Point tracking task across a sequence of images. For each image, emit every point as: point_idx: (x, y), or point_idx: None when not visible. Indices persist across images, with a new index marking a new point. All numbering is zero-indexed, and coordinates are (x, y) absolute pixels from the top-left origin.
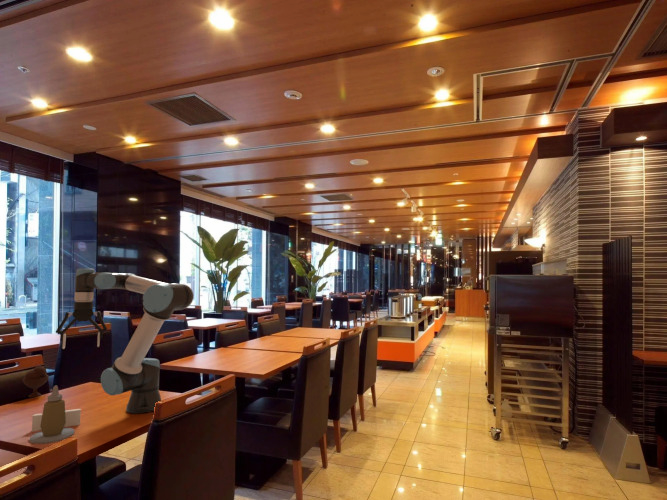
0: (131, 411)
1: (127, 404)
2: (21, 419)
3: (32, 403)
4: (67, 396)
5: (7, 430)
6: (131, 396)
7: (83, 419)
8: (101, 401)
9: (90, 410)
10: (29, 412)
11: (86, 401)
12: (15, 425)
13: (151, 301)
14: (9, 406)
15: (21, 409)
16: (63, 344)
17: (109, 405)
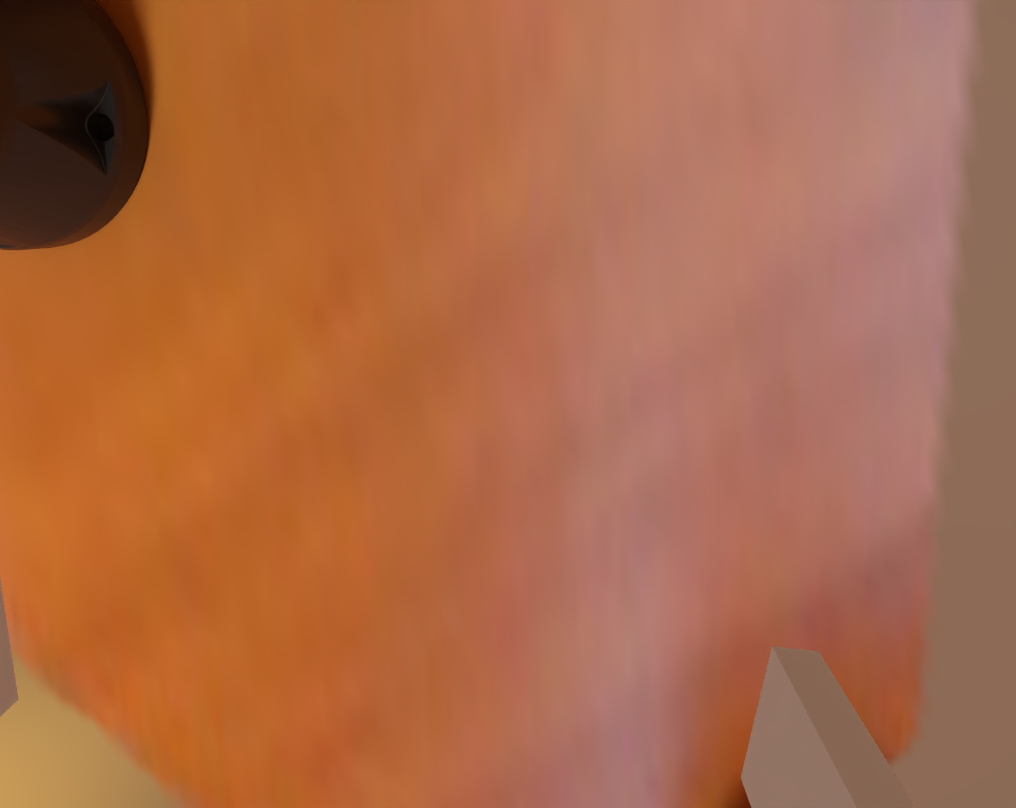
0: (93, 4)
1: (114, 135)
2: (851, 338)
3: None
4: (555, 771)
5: (954, 81)
6: (17, 44)
7: (453, 62)
8: (338, 516)
9: (408, 305)
10: (793, 496)
11: (437, 574)
12: (896, 193)
13: None
14: (896, 719)
15: (835, 604)
16: (852, 743)
17: (280, 370)
